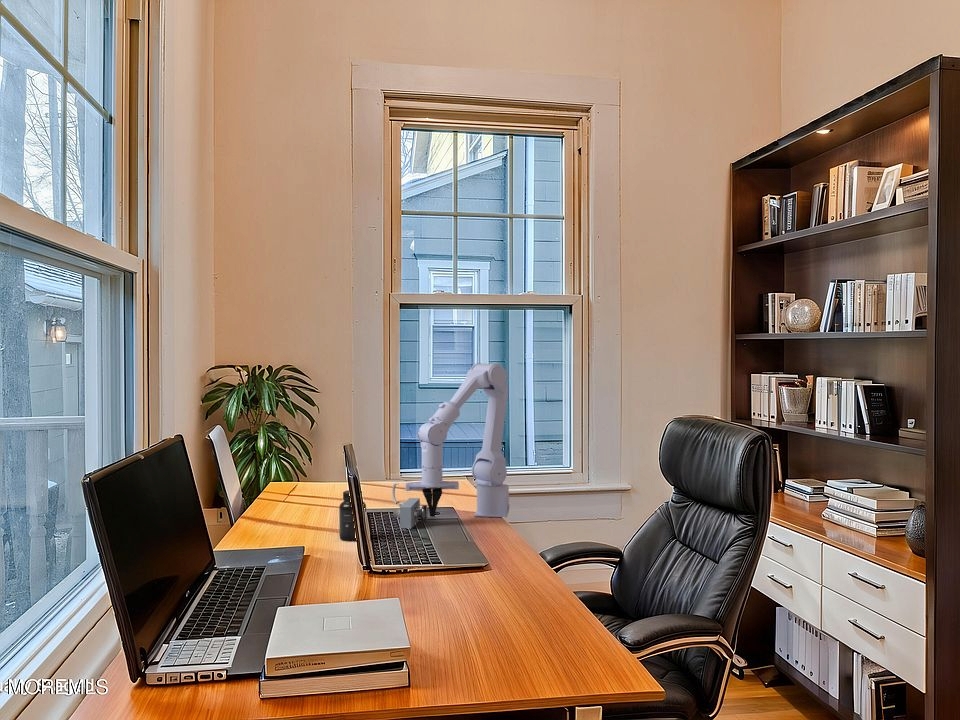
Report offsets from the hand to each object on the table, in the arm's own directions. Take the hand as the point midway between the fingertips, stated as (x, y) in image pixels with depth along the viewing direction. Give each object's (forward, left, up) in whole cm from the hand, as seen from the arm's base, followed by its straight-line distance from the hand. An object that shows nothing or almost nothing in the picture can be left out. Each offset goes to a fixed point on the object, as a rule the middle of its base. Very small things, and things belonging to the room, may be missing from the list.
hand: (432, 515), depth 202 cm
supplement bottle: (+18, +16, -3) cm, 24 cm away
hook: (+13, -20, -3) cm, 24 cm away
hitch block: (+6, 0, -2) cm, 7 cm away
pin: (+6, 0, -2) cm, 6 cm away
